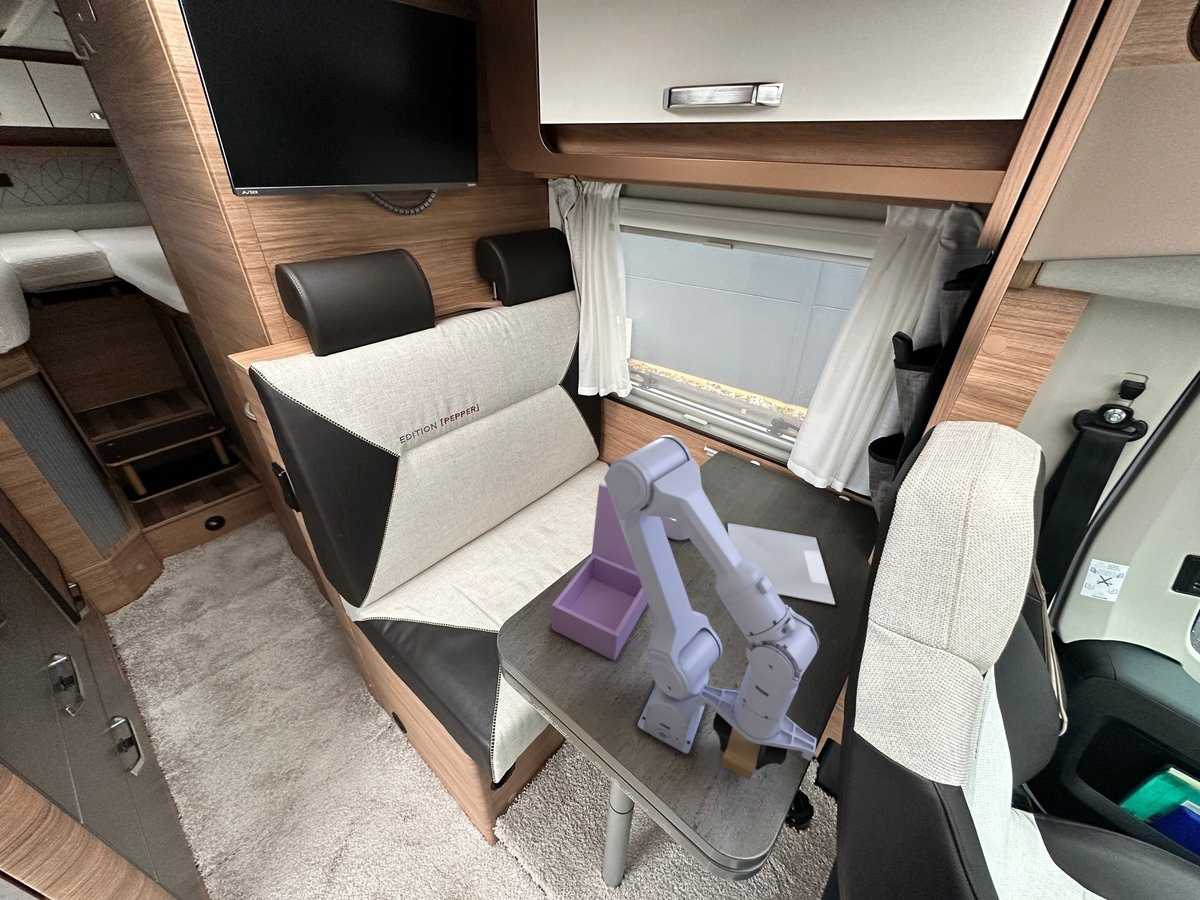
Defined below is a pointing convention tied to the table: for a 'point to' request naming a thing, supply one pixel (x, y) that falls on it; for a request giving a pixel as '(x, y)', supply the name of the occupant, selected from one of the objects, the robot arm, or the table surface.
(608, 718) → the table surface
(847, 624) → the table surface
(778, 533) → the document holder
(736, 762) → the block
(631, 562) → the purple box lid
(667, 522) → the candle
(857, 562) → the table surface
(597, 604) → the open box
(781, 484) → the table surface
